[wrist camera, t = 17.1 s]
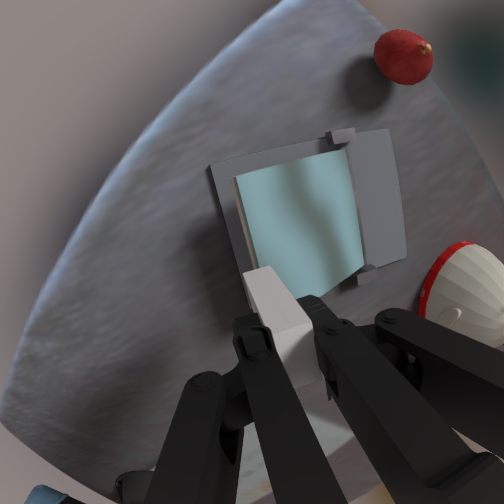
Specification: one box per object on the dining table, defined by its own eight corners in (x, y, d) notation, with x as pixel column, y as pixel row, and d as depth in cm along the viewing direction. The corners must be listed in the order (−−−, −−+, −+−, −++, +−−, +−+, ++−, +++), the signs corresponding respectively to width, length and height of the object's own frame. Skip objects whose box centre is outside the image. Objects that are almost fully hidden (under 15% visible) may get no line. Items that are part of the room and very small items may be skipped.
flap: (368, 263, 29) (361, 262, 30) (349, 145, 26) (341, 146, 26) (275, 329, 23) (268, 325, 23) (235, 173, 19) (228, 175, 20)
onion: (375, 33, 24) (417, 6, 16) (412, 68, 26) (459, 52, 18) (350, 63, 25) (394, 38, 17) (391, 101, 26) (441, 88, 19)
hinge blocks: (352, 281, 30) (358, 285, 29) (325, 132, 26) (330, 131, 24) (371, 274, 30) (378, 278, 29) (347, 128, 26) (354, 127, 25)
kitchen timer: (418, 351, 36) (484, 415, 22) (414, 264, 32) (509, 317, 18) (482, 310, 37) (547, 352, 22) (483, 227, 33) (567, 258, 18)
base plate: (249, 306, 30) (250, 309, 29) (209, 164, 26) (209, 164, 25) (403, 255, 31) (406, 256, 31) (385, 128, 27) (388, 128, 26)
